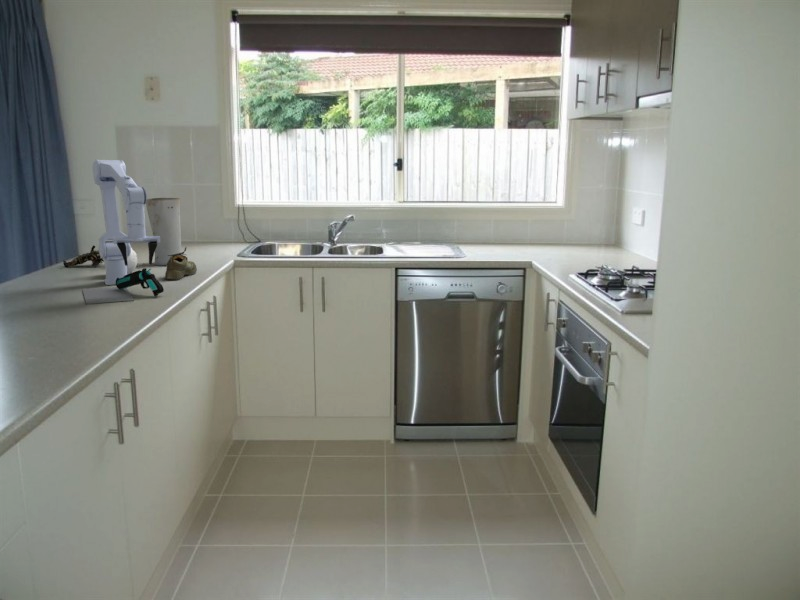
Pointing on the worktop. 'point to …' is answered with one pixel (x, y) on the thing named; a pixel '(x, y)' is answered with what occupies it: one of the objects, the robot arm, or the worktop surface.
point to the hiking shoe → (179, 267)
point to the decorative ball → (131, 262)
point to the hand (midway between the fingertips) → (138, 264)
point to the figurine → (86, 259)
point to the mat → (106, 295)
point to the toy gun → (140, 281)
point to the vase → (165, 227)
